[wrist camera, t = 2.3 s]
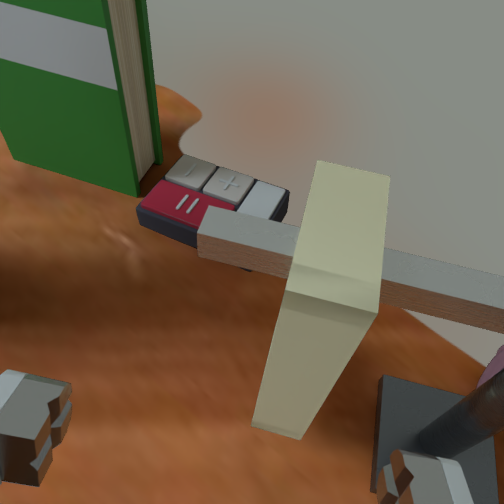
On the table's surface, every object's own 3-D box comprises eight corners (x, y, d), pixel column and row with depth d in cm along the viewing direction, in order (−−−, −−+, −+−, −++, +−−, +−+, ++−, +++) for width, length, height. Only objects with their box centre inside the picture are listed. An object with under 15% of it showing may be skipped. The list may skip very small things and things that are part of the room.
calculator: (182, 148, 57) (291, 185, 53) (185, 174, 60) (288, 210, 56) (132, 203, 50) (252, 250, 47) (139, 229, 54) (251, 274, 50)
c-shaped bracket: (250, 426, 35) (285, 289, 19) (274, 329, 40) (317, 159, 24) (300, 440, 35) (378, 313, 19) (318, 341, 40) (390, 176, 24)
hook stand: (188, 438, 39) (168, 298, 20) (221, 337, 45) (229, 157, 26) (491, 527, 36) (787, 461, 18) (482, 408, 42) (698, 265, 24)
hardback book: (163, 160, 60) (141, -40, 41) (137, 197, 55) (99, -8, 36) (47, 126, 62) (-24, -78, 43) (13, 159, 58) (-83, -53, 39)
